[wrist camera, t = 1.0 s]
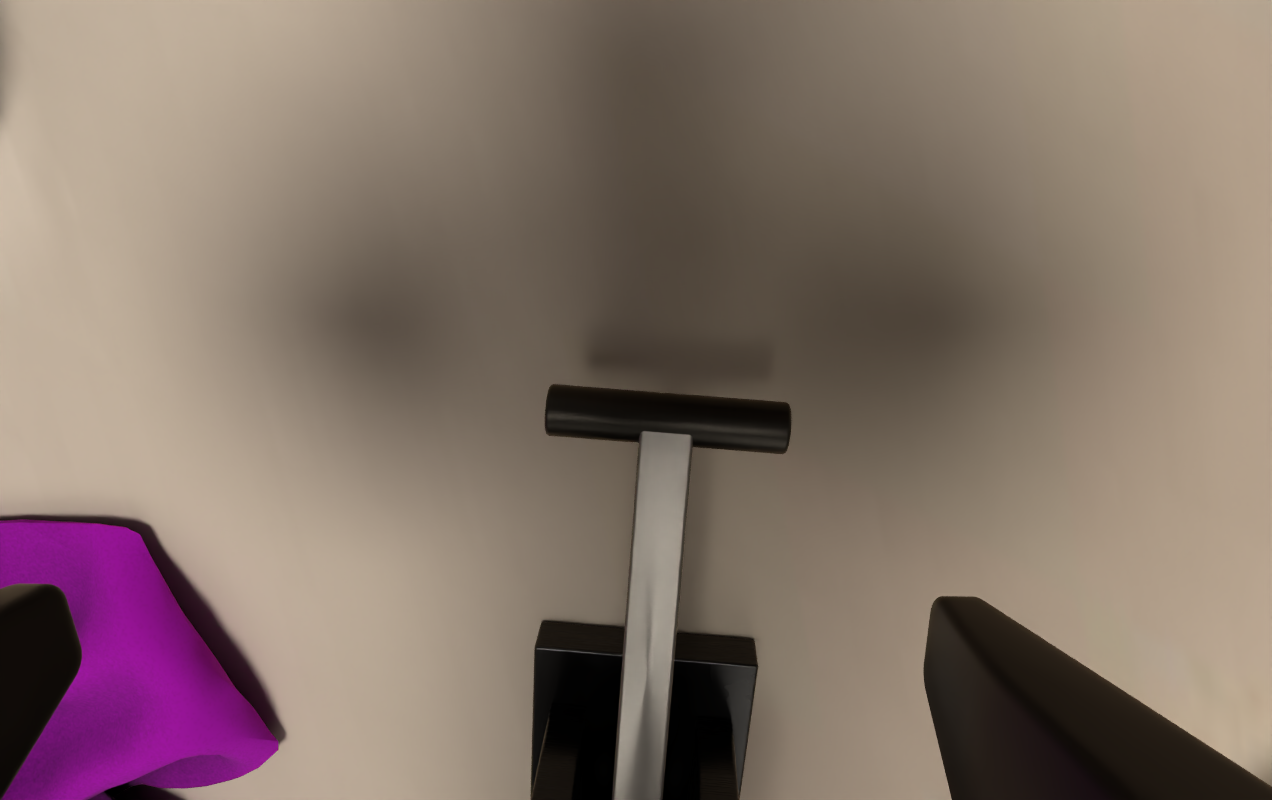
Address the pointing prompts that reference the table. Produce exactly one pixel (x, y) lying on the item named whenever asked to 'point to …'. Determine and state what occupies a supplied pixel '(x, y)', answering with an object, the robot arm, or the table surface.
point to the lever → (658, 538)
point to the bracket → (589, 703)
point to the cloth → (127, 674)
